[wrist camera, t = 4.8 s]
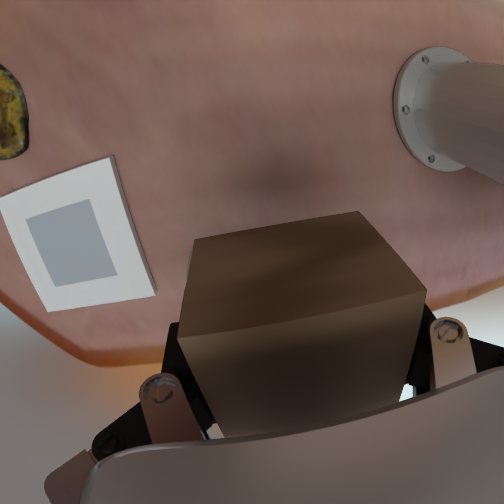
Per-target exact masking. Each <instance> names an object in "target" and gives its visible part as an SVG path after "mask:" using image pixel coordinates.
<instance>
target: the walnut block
mask: <svg viewBox="0 0 504 504" xmlns="http://www.w3.org/2000/svg"><path fill="white" fill-rule="evenodd" d="M426 294H427V289H426V288H425V286H424V285H423V284H422V283H421V281H420V280H419V279H418V278H417V277H416V275H415V274H414V273H413V272H412V271H411V269H410V268H409V267H408V266H407V265H406V263H405V262H404V261H403V260H402V259H401V258H400V256H399V255H398V254H397V253H396V252H395V251H394V250H393V248H392V247H391V246H390V245H389V244H388V243H387V242H386V240H385V239H384V238H383V237H382V236H381V235H380V234H379V233H378V232H377V230H376V229H375V228H374V227H373V226H372V225H371V224H370V223H369V222H368V221H367V220H366V219H365V217H364V216H363V215H362V214H361V213H360V212H359V211H355V212H349V213H343V214H336V215H330V216H324V217H318V218H312V219H306V220H300V221H295V222H289V223H283V224H277V225H271V226H266V227H260V228H254V229H249V230H243V231H238V232H232V233H227V234H221V235H216V236H210V237H205V238H200V239H195V240H194V245H193V250H192V255H191V260H190V266H189V271H188V276H187V282H186V287H185V293H184V299H183V304H182V310H181V316H180V322H179V328H178V334H177V340H178V342H179V344H180V347H181V349H182V351H183V353H184V356H185V358H186V360H187V362H188V365H189V367H190V369H191V371H192V373H193V375H194V377H195V380H196V382H197V384H198V386H199V388H200V390H201V392H202V394H203V396H204V398H205V400H206V402H207V404H208V406H209V408H210V410H211V412H212V414H213V416H214V418H215V420H216V422H217V424H218V426H219V428H220V429H221V431H222V433H223V435H224V437H225V438H230V437H239V436H247V435H255V434H262V433H269V432H275V431H281V430H287V429H292V428H298V427H303V426H308V425H313V424H318V423H323V422H327V421H331V420H336V419H340V418H344V417H348V416H352V415H356V414H359V413H363V412H367V411H370V410H374V409H377V408H381V407H384V406H387V405H391V404H394V403H397V402H399V399H400V396H401V393H402V390H403V387H404V384H405V380H406V377H407V374H408V370H409V367H410V363H411V359H412V356H413V352H414V348H415V344H416V340H417V336H418V332H419V328H420V323H421V319H422V314H423V309H424V304H425V299H426Z"/></svg>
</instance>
